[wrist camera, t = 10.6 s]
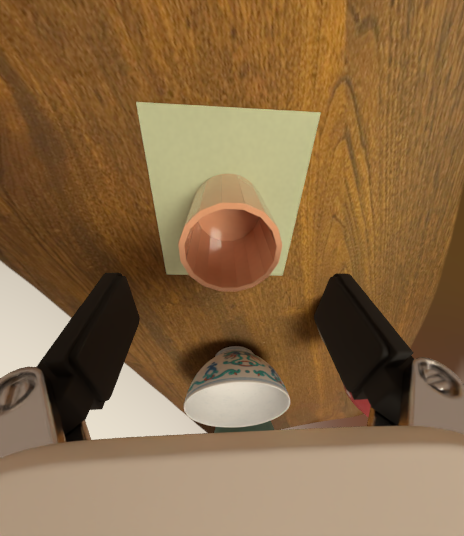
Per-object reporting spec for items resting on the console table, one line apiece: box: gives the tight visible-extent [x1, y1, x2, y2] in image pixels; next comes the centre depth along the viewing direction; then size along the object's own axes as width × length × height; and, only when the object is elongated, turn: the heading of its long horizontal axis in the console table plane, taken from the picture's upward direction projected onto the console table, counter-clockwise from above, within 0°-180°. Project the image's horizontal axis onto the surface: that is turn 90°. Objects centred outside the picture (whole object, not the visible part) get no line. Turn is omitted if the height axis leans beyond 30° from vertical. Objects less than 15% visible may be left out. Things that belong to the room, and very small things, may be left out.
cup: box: [178, 173, 282, 291], centre depth 17 cm, size 7×7×8 cm
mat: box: [136, 102, 321, 276], centre depth 20 cm, size 16×14×1 cm
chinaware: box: [184, 346, 290, 427], centre depth 33 cm, size 15×15×8 cm
